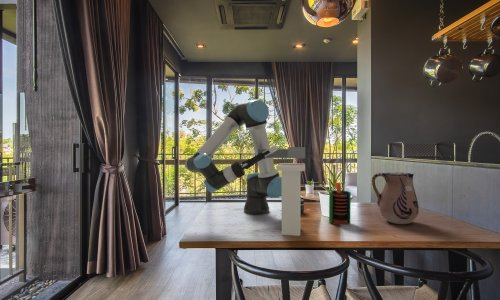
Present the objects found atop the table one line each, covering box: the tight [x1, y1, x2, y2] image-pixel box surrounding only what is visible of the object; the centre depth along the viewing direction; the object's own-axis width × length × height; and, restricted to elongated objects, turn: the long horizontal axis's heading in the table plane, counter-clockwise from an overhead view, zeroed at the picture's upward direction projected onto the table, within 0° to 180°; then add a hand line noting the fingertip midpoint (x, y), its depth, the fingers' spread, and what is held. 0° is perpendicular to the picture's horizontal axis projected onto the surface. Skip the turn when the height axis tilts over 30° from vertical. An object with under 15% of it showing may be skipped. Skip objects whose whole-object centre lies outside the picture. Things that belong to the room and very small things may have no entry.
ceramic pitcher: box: [371, 171, 420, 225], centre depth 145 cm, size 18×21×25 cm
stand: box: [275, 162, 306, 237], centre depth 129 cm, size 17×12×30 cm
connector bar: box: [258, 146, 306, 159], centre depth 135 cm, size 6×22×5 cm, turn 80°
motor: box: [328, 182, 352, 226], centre depth 145 cm, size 10×9×20 cm
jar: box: [301, 198, 305, 215], centre depth 167 cm, size 10×10×8 cm
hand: (276, 147), depth 135 cm, fingers closed on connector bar, 4 cm apart
